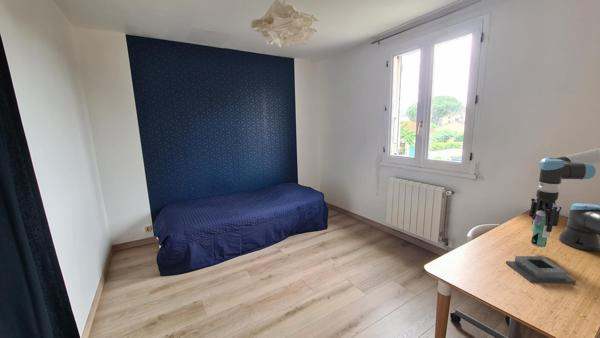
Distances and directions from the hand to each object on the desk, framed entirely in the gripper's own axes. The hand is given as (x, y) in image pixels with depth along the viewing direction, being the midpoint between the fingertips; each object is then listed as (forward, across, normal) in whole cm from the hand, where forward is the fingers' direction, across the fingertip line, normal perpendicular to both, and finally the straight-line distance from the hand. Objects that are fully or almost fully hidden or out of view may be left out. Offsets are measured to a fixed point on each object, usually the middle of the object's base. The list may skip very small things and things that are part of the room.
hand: (540, 234), depth 124 cm
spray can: (+6, 0, 0) cm, 6 cm away
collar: (+10, +17, -13) cm, 24 cm away
